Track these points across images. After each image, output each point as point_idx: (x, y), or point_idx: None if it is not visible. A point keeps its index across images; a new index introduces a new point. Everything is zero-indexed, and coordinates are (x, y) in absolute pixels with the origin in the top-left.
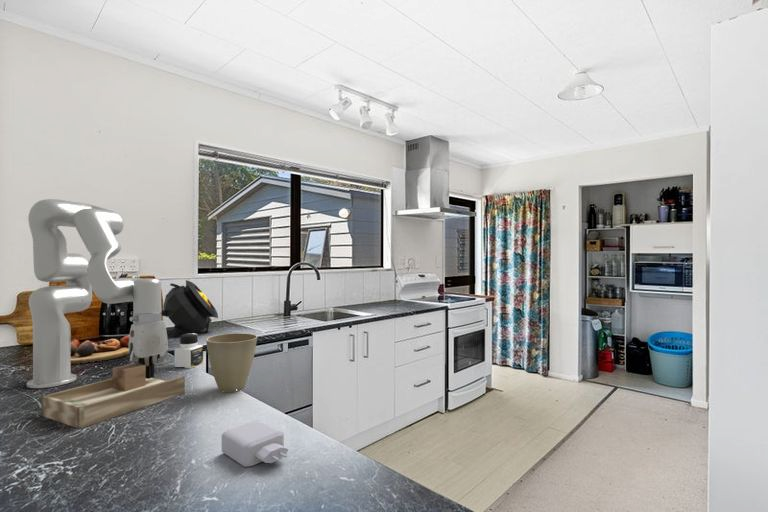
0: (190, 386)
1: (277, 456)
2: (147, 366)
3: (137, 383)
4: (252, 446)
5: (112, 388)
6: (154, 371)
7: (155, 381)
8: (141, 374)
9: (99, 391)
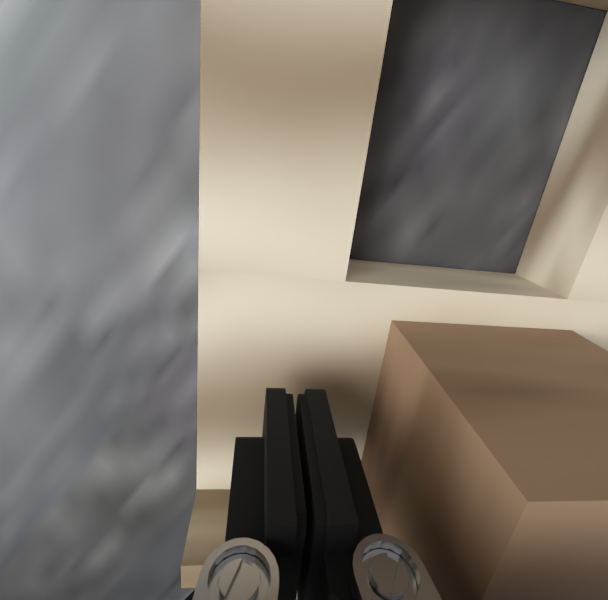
0: (13, 51)
1: None
2: (347, 539)
3: (494, 345)
4: None
5: None
6: (234, 451)
7: (258, 348)
8: (506, 398)
9: None
